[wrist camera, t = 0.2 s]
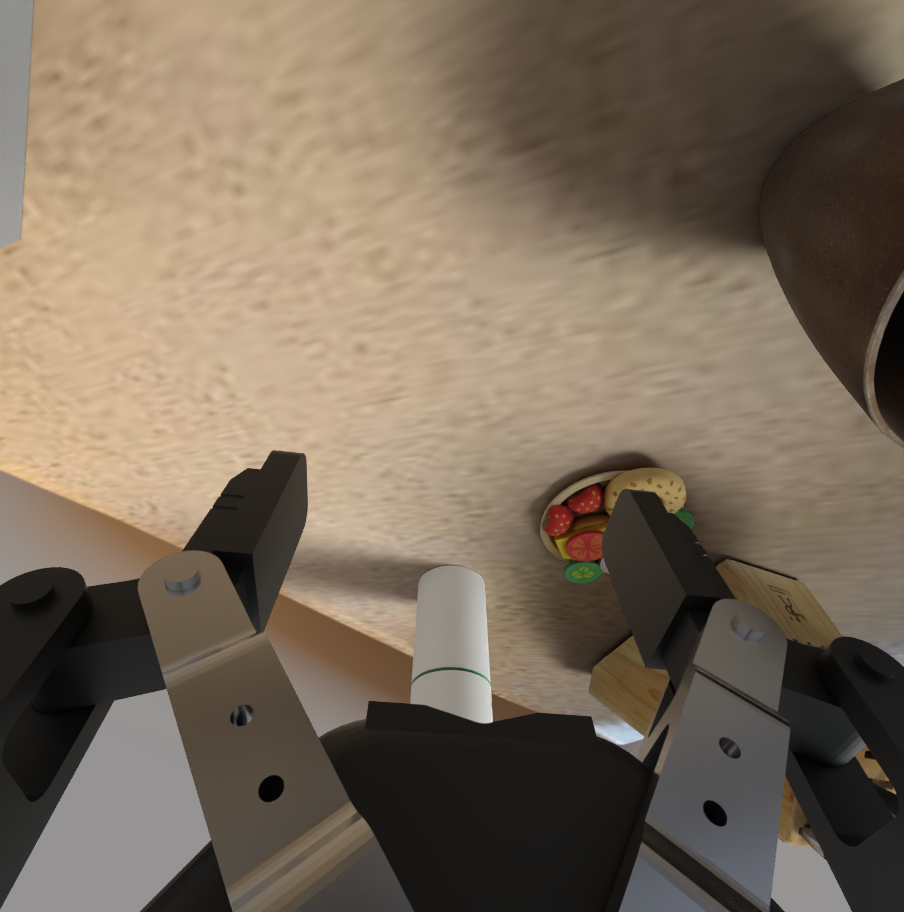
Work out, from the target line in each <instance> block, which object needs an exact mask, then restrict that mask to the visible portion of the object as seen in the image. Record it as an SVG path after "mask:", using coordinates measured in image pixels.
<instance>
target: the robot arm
mask: <svg viewBox="0 0 904 912" xmlns="http://www.w3.org/2000/svg"><path fill="white" fill-rule="evenodd" d="M307 509H308V497H307V464H306V456H305V454H303V453H294V452H284V451H275V450H273V451H272V452H271V453H270V455H269V456H268V458H267V460H266V461H265V463H264V465H263V466H262V468H261V469H252V468H247V469H246V470H244V471H243V472H241V473H240V474H238V475H237V476H235V477H234V478H232V479H231V480H230V481H229V483H228V484H227V486H226V487H225V489H224V490H223V492H222V493H221V497H219V498H218V499H217V501H216V502H215V503H214V505H213V509H210V511H209V512H208V514H207V515H206V517H205V518H204V520H203V521H202V523H201V524H200V526H199V527H198V529H197V530H196V532H195V533H194V535H193V536H192V538H191V539H190V540H189V542H188V543H187V545H186V546H185V548H184V549H183V551H182V552H178V553H174V554H171V555H168V556H166V557H164V558H162V559H160V560H158V561H156V562H155V563H153V564H152V565H151V566H150V567H148V568H147V569H146V570H145V571H144V573H143V574H142V576H141V577H140V578H139V579H135V580H130V581H124V582H117V583H110V584H104V585H96V586H89V587H87V586H86V583H85V581H84V578H83V577H82V575H81V574H79V573H78V572H76V571H74V570H72V569H68V568H61V567H53V568H44V569H38V570H34V571H31V572H27V573H24V574H22V575H19V576H17V577H15V578H13V579H11V580H9V581H7V582H5V583H4V584H2V585H0V909H1V907H2V905H3V903H4V901H5V899H6V898H7V895H8V894H9V892H10V890H11V888H12V887H13V885H14V883H15V881H16V879H17V877H18V876H19V874H20V872H21V870H22V868H23V867H24V865H25V863H26V861H27V859H28V857H29V855H30V854H31V852H32V850H33V848H34V846H35V844H36V843H37V841H38V839H39V837H40V835H41V834H42V832H43V830H44V828H45V826H46V824H47V823H48V820H49V819H50V817H51V815H52V813H53V811H54V810H55V808H56V806H57V804H58V802H59V801H60V799H61V797H62V795H63V793H64V791H65V789H66V788H67V786H68V784H69V782H70V780H71V779H72V777H73V775H74V773H75V771H76V769H77V768H78V766H79V764H80V762H81V760H82V758H83V757H84V755H85V753H86V751H87V749H88V748H89V746H90V744H91V742H92V740H93V738H94V736H95V735H96V733H97V731H98V729H99V727H100V725H101V724H102V722H103V720H104V718H105V716H106V714H107V713H108V711H109V709H110V707H111V705H112V703H113V702H114V700H118V699H123V698H128V697H132V696H136V695H141V694H145V693H150V692H155V691H159V690H164V689H167V691H168V695H169V698H170V701H171V705H172V708H173V712H174V715H175V718H176V721H177V725H178V729H179V732H180V735H181V739H182V742H183V746H184V749H185V752H186V756H187V759H188V763H189V766H190V769H191V773H192V776H193V779H194V783H195V786H196V790H197V793H198V797H199V799H200V803H201V806H202V810H203V813H204V817H205V820H206V823H207V827H208V831H209V834H210V837H211V841H210V842H209V843H208V844H207V845H206V846H205V847H204V848H203V849H202V850H201V851H200V852H199V853H198V854H197V855H196V856H195V857H194V858H193V859H192V860H191V861H190V862H189V863H188V864H187V865H186V866H185V867H184V868H183V869H182V870H181V871H180V872H179V873H178V874H177V875H176V876H175V877H174V878H173V879H172V880H171V881H170V882H169V883H168V884H167V885H166V886H165V887H164V888H163V889H162V890H161V891H160V892H159V893H158V894H157V895H156V896H155V897H154V898H153V899H152V900H151V901H150V902H149V903H148V904H147V905H146V906H145V907H144V908H143V909H142V910H141V911H140V912H784V911H783V910H782V909H781V907H780V906H779V905H778V904H777V903H776V902H775V901H774V900H773V899H772V898H771V891H772V883H773V874H774V866H775V857H776V849H777V839H778V832H779V823H780V815H781V806H782V797H783V789H784V780H785V777H786V779H787V781H788V783H789V785H790V787H791V789H792V791H793V793H794V795H795V797H796V799H797V801H798V803H799V805H800V807H801V809H802V811H803V813H804V815H805V817H806V819H807V821H808V823H809V825H810V827H811V829H812V831H813V833H814V835H815V837H816V839H817V841H818V843H819V845H820V848H821V850H822V852H823V854H824V856H825V858H826V860H827V862H828V864H829V865H830V868H831V870H832V872H833V874H834V876H835V878H836V880H837V882H838V884H839V886H840V888H841V890H842V892H843V894H844V896H845V898H846V900H847V902H848V904H849V906H850V908H851V910H852V912H904V667H903V666H902V665H901V664H900V663H899V662H897V661H896V660H895V659H894V658H893V657H891V656H890V655H889V654H887V653H886V652H884V651H883V650H881V649H879V648H878V647H876V646H874V645H872V644H870V643H867V642H865V641H863V640H859V639H856V638H852V637H839V638H836V639H834V640H833V641H832V642H831V644H830V645H829V646H828V647H827V648H826V650H825V651H823V650H820V649H817V648H814V647H811V646H808V645H805V644H802V643H799V642H796V641H793V640H790V639H787V638H786V636H785V634H784V632H783V631H782V629H781V628H780V626H779V625H778V624H777V623H776V622H775V621H774V620H773V619H772V618H771V617H770V616H768V615H767V614H766V613H764V612H763V611H762V610H760V609H758V608H756V607H755V606H753V605H751V604H748V603H746V602H743V601H739V600H737V599H736V598H735V596H734V595H733V593H732V592H731V590H730V589H729V587H728V585H727V584H726V582H725V581H724V579H723V578H722V576H721V575H720V573H719V572H718V570H717V569H716V567H715V566H714V564H713V562H712V561H711V559H710V558H707V553H706V552H705V550H704V549H703V547H702V546H701V545H699V541H698V540H697V538H696V536H695V535H694V533H693V532H692V530H691V529H690V527H689V526H688V525H686V524H685V523H684V522H683V521H682V520H680V519H679V518H678V517H677V516H676V515H675V514H673V513H668V511H667V510H666V508H665V507H664V505H663V503H662V502H661V500H660V498H659V497H658V495H657V494H656V493H655V492H651V491H642V490H633V489H623V490H622V491H621V492H620V494H619V496H618V498H617V501H616V503H615V506H614V508H613V511H612V514H611V516H610V519H609V521H608V524H607V526H606V529H605V532H604V535H603V539H602V555H603V559H604V562H605V564H606V567H607V569H608V572H609V574H610V577H611V580H612V582H613V585H614V587H615V590H616V593H617V595H618V598H619V600H620V603H621V605H622V608H623V611H624V613H625V616H626V618H627V621H628V624H629V626H630V629H631V631H632V634H633V636H634V639H635V642H636V644H637V647H638V649H639V652H640V655H641V657H642V660H643V662H644V665H645V668H649V669H662V670H667V672H668V675H669V677H670V678H669V680H668V681H667V683H666V685H665V687H664V689H663V691H662V694H661V696H660V699H659V701H658V704H657V706H656V709H655V711H654V714H653V716H652V719H651V721H650V724H649V726H648V729H647V731H646V734H645V737H644V739H643V742H642V744H641V747H640V749H639V751H638V754H637V755H636V757H634V756H633V755H632V754H630V753H629V752H627V751H626V750H624V749H622V748H621V747H619V746H617V745H616V744H614V743H611V742H609V741H607V740H605V739H603V738H600V737H597V736H596V733H595V729H594V725H593V721H592V717H591V716H577V715H563V714H548V713H535V714H530V715H526V716H520V717H515V718H511V719H506V720H501V721H496V722H491V723H478V722H475V721H472V720H469V719H466V718H463V717H460V716H457V715H454V714H451V713H448V712H445V711H442V710H439V709H436V708H433V707H430V706H427V705H420V704H405V703H391V702H376V701H369V704H368V711H367V717H366V719H364V720H360V721H355V722H352V723H349V724H346V725H343V726H340V727H338V728H336V729H333V730H331V731H329V732H327V733H325V734H324V735H322V736H321V737H319V738H318V736H317V734H316V732H315V730H314V728H313V726H312V724H311V722H310V720H309V718H308V716H307V714H306V712H305V710H304V708H303V706H302V704H301V702H300V700H299V698H298V696H297V694H296V692H295V690H294V688H293V686H292V684H291V682H290V680H289V678H288V677H287V675H286V672H285V670H284V669H283V667H282V665H281V663H280V661H279V659H278V657H277V655H276V653H275V651H274V649H273V647H272V645H271V643H270V641H269V639H268V637H267V636H266V634H265V633H264V630H265V627H266V624H267V622H268V619H269V617H270V614H271V612H272V609H273V606H274V604H275V601H276V599H277V596H278V594H279V591H280V588H281V586H282V583H283V581H284V578H285V576H286V573H287V570H288V568H289V565H290V563H291V560H292V558H293V555H294V553H295V550H296V547H297V545H298V542H299V540H300V537H301V535H302V532H303V529H304V526H305V522H306V517H307ZM865 746H867V747H868V749H869V750H870V752H871V753H872V755H873V756H874V758H875V759H876V761H877V763H878V764H879V766H880V767H881V769H882V770H883V772H884V773H885V775H886V776H887V778H888V779H889V781H890V782H891V784H892V786H893V787H894V790H895V792H896V795H897V799H898V812H897V815H896V817H895V818H894V817H893V816H892V814H891V813H890V811H889V809H888V808H887V806H886V805H885V803H884V801H883V800H882V798H881V797H880V795H879V793H878V792H877V790H876V789H875V787H874V785H873V784H872V782H871V781H870V779H869V778H868V776H867V774H866V773H865V771H864V770H863V768H862V766H861V765H860V763H859V762H858V760H857V758H856V757H855V755H856V754H857V753H858V752H860V751H861V750H862V749H863V748H864V747H865Z"/></svg>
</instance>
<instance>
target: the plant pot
mask: <svg viewBox="0 0 904 912" xmlns="http://www.w3.org/2000/svg"><path fill="white" fill-rule="evenodd" d="M759 219H760V226H761V231H762V235H763V239H764V243H765V246H766V249H767V253H768V256H769V259H770V261H771V264H772V267H773V269H774V272H775V274H776V277H777V279H778V281H779V283H780V286H781V288H782V290H783V292H784V294H785V296H786V298H787V300H788V302H789V304H790V306H791V308H792V310H793V312H794V313H795V315H796V317H797V319H798V321H799V322H800V324H801V326H802V327H803V329H804V330H805V332H806V334H807V335H808V337H809V338H810V340H811V342H812V343H813V345H814V346H815V348H816V349H817V351H818V352H819V353H820V355H821V356H822V358H823V359H824V361H825V362H826V363H827V365H828V366H829V367H830V368H831V370H832V371H833V372H834V374H835V375H836V376H837V378H838V379H839V380H840V381H841V383H842V384H843V385H844V386H845V388H846V389H847V390H848V391H849V393H850V394H851V395H852V396H853V398H854V399H855V400H856V401H857V403H858V404H859V405H860V406H861V408H862V409H863V410H864V411H865V413H866V414H867V415H868V416H869V417H870V419H871V420H872V421H873V422H874V424H875V425H876V426H877V427H878V429H879V430H880V431H881V432H882V433H883V434H884V435H885V436H886V437H887V438H888V439H889V440H890V441H891V442H893V443H894V444H895V445H897V446H899V447H900V448H902V449H904V79H902V80H900V81H897V82H895V83H893V84H890V85H888V86H886V87H883V88H881V89H879V90H877V91H875V92H873V93H871V94H868V95H866V96H864V97H862V98H860V99H858V100H856V101H854V102H852V103H850V104H848V105H846V106H844V107H842V108H840V109H839V110H837V111H835V112H833V113H831V114H829V115H827V116H826V117H824V118H822V119H820V120H819V121H817V122H816V123H814V124H812V125H811V126H810V127H809V128H807V129H806V130H805V131H803V132H802V133H801V134H800V135H799V136H798V137H797V138H796V139H795V140H794V141H793V142H792V143H791V144H790V145H789V146H788V147H787V148H786V149H785V151H784V152H783V153H782V155H781V156H780V157H779V159H778V160H777V161H776V163H775V165H774V166H773V168H772V170H771V171H770V173H769V175H768V178H767V180H766V182H765V184H764V187H763V190H762V194H761V200H760V206H759Z"/></svg>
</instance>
